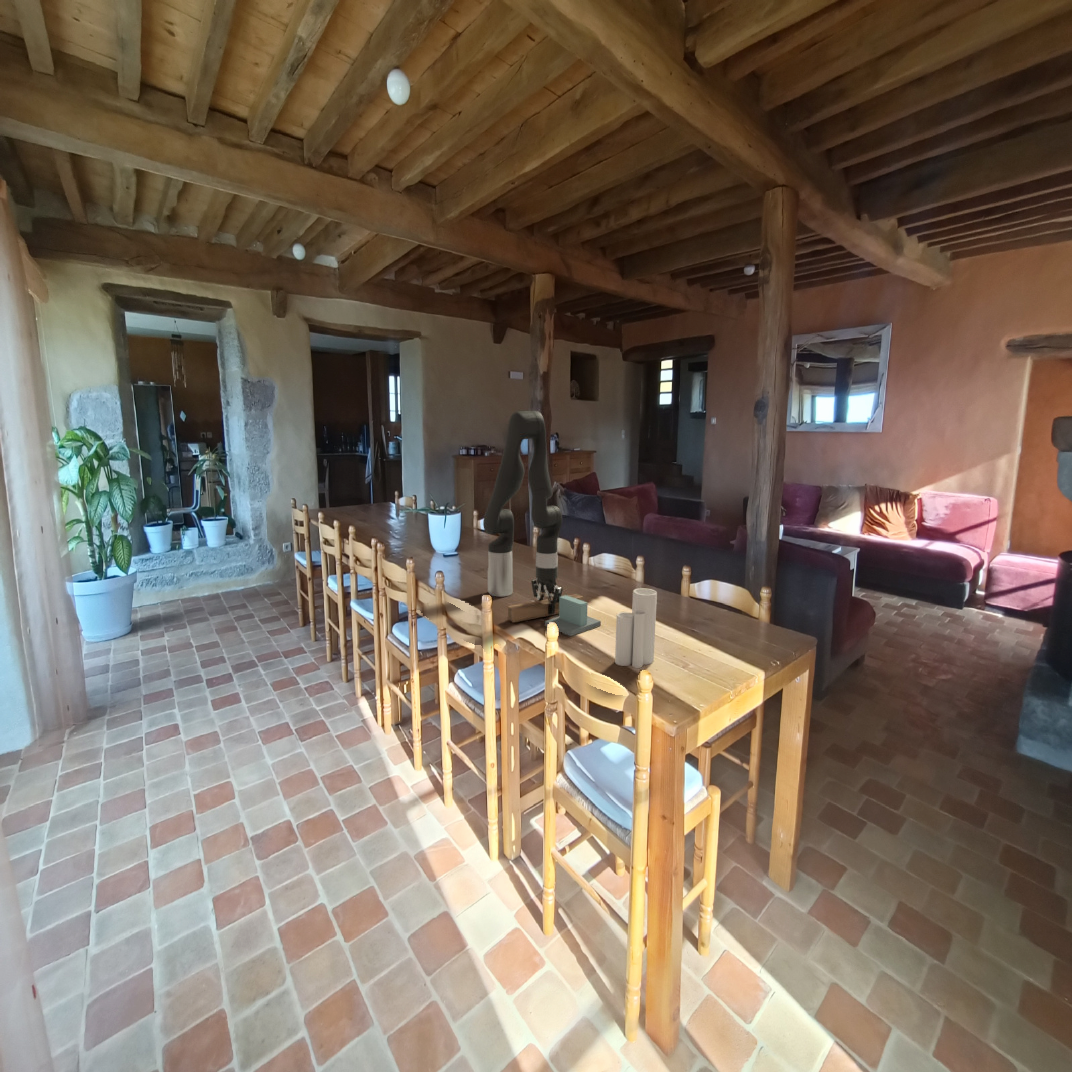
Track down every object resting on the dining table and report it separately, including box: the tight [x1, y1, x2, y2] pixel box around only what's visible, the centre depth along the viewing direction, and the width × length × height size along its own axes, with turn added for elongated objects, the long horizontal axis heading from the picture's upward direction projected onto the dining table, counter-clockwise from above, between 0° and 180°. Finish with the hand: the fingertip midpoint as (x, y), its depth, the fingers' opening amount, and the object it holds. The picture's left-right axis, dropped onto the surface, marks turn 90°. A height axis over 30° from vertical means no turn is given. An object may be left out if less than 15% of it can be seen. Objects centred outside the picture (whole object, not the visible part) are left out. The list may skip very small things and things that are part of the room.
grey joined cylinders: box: [614, 587, 658, 669], centre depth 150 cm, size 11×7×20 cm, turn 120°
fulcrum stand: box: [544, 594, 602, 637], centre depth 177 cm, size 12×14×9 cm
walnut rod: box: [507, 593, 584, 624], centre depth 188 cm, size 4×28×4 cm, turn 120°
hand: (546, 611), depth 188 cm, fingers closed on walnut rod, 4 cm apart
